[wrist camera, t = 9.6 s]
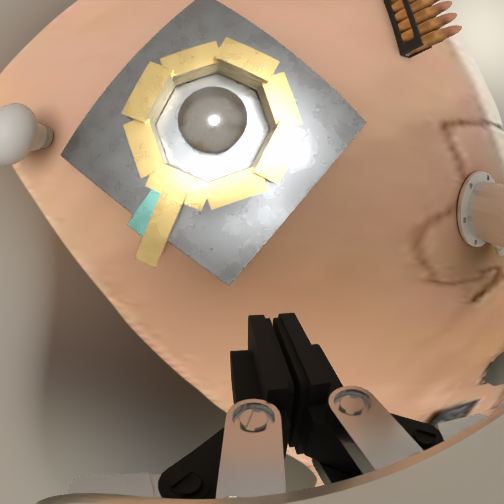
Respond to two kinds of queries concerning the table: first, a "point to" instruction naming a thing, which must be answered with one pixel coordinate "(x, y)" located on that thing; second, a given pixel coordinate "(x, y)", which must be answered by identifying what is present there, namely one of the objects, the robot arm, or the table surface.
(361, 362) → the table surface
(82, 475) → the robot arm
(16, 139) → the lightbulb
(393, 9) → the ammunition clip
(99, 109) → the housing
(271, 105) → the ring nut
